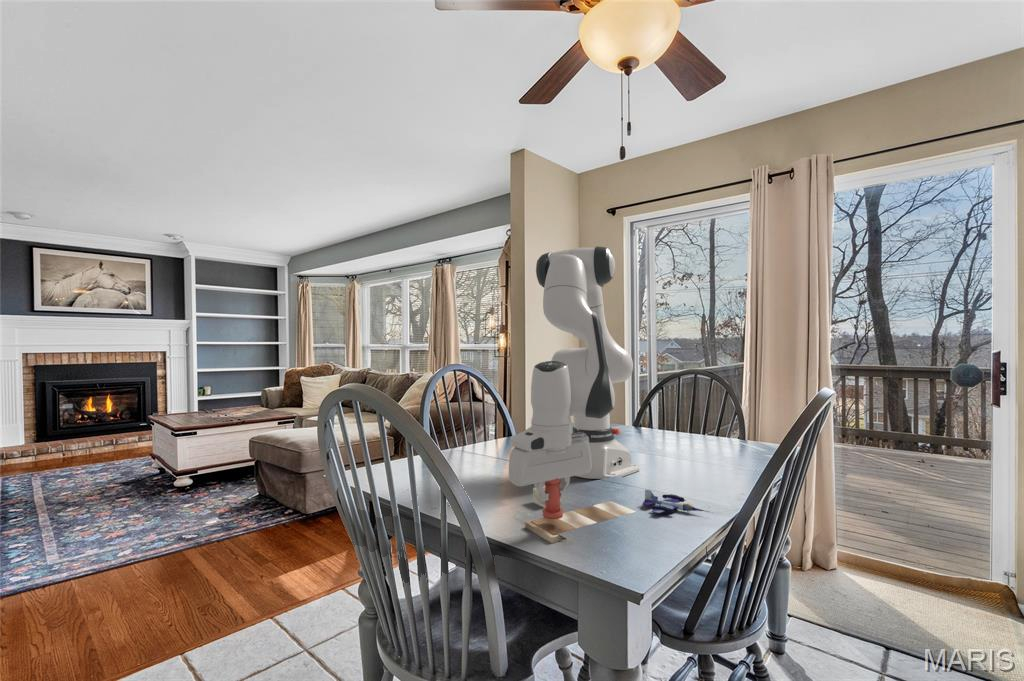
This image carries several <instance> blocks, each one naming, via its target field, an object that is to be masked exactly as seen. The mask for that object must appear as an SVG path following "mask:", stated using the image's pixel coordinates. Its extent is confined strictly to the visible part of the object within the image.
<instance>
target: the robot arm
mask: <svg viewBox="0 0 1024 681" xmlns="http://www.w3.org/2000/svg"><path fill="white" fill-rule="evenodd" d="M615 270H616V261H615V258H614V255H613V253H612V251H611V250H610V249H609V247H605V246H599V245H598V246H595V247H590V246H589V247H573V248H570V249H563V250H558V251H555V252H552V251H548V252H546V253H544V254H541V256H539V258H538V259H537V260H536V267H535V275H536V278H537V282H538V284H539V285H540V286H541V287H542V288H543V298H542V309H543V310H542V311H543V314H544V316H545V319H546V320H547V322H549V323H550V324H551V326H554V327H555V328H557V329H559V330H561V331H563V332H565V333H569V334H572V335H573V337H575V338H577V339H579V340H582V341H583V342H584V343H585V345H586V346H587V347H569V348H562V349H559V350H556V352H554V354H553V356H552V357H551V360H550V361H549V360H547V361H543V362H539V363H537V364H535V365H534V366H533V369H532V374H531V385H530V405H531V409H532V417H531V420H530V426H529V427H528V428H526V429H525V430H523V431H521V432H519V433H516V435H513V436H512V437H511V439H510V441H511V442H510V444H511V446H512V447H514V448H513V449H511V451H510V453H509V459H508V479H509V481H510V482H511V484H513V485H515V486H517V487H519V488H520V487H525V486H531V485H533V486H534V488H536V490H537V491H538V493H539V501H541V502H546V501H549V498H548V497H549V493H546V492H545V491H544V489H543V487H544V486H545V482H546V481H551V480H554V479H556V478H559V479H560V498H561V499H563V498H566V495H567V494H566V490H567V488H568V487H569V484H570V482H571V477H578V478H583V479H594V480H595V479H596V480H597V479H599V480H603V479H607V478H608V479H609V478H613V477H616V476H617V477H621V478H623V477H625V476H628V475H631V474H633V473H636V472H639V471H640V467H639V465H636V464H634V463H632V456H631V452H630V451H629V449H628V448H626V446H624V445H622V444H621V443H620V442H619V441H618V440H616V439H615V436H614V435H617V436H620V434H621V433H622V432H621V429H620V428H618V427H617V428H616V427H613V428H612V427H611V425H610V424H611V423H610V422H611V421H610V420H611V419H610V418H611V417H610V413H611V412H612V411H613V410H614V407H615V403H616V394H615V389H614V384H618V383H622V382H627V380H628V379H630V376H632V374H633V371H634V362H633V359H632V358H633V357H632V356H631V354H630V353H629V352H628V351H627V350H626V349H625V348H623V347H622V346H621V345H619V344H618V343H617V342H616V341H615V340H614V338H613V337H612V335H611V334H610V332H609V329H608V326H607V321H606V315H605V308H604V307H605V306H604V298H603V291H602V288H603V287H604V286H605V285H607V284H608V283H610V282H611V280H613V278H614V274H615ZM571 416H572V417H573V421H572V418H571ZM572 422H573V424H572ZM572 425H573V427H572Z"/></svg>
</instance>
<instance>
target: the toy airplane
mask: <svg viewBox="0 0 1024 681" xmlns="http://www.w3.org/2000/svg"><path fill="white" fill-rule="evenodd" d="M662 498H663V499H662V500H658V499H659V497H658V496H656V495H654V493H653V492H652V491H651V490H649V489H645V490H644V501H643V502H642V503H641V504H642V506H643V505H644V506H651V507H650V508H651V510H652V511H651V513H652V514H657V515H658V514H666V515H667V514H669V515H674V514H675V513H677V512H679V510H680V511H683V512H684V511H685V512H687V513H689V512H693V511H696V512H700V511H701V512H707V513H710V511H709V510H708V511H707V510H703V509H701V508H697V507H695V506H694V505H693V504H691V503H688V502H685V501H687V500H686V499H685V498H684V497H682V496H678V495H677V494H662ZM684 502H685V503H684ZM654 504H656V505H654ZM713 512H714V511H711V513H713ZM713 514H714V513H713Z"/></svg>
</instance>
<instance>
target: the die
mask: <svg viewBox="0 0 1024 681" xmlns="http://www.w3.org/2000/svg"><path fill="white" fill-rule="evenodd" d="M543 489H544V491H545V486H544V487H543ZM532 503H533V504H535V505H537V506H539V507H541V508H543V509H544V508H545V502H541V501H539V493H538V491H537V490H536V488H535V487H532ZM560 505H562V498H560Z"/></svg>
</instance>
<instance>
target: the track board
mask: <svg viewBox="0 0 1024 681" xmlns="http://www.w3.org/2000/svg"><path fill="white" fill-rule="evenodd" d="M634 513H637V511H636V510H633V509H631V508H630V507H629V508H628V507H626V506H623V505H621V504H619V503H616V502H614V501H612V500H610V501H606V502H602V503H598V504H594V505H589V506H586V507H582V508H577V509H574V510H569V511H565V512H563V517H562V518H560V519H547V518H544V517H542V518H537V519H532V520H528V521H525V522H524V526H525V527H526V528H525V529H527V530H528V531H530V532H532V533H533V534H535V535H537V536H539V537H541V538H542V539H544V540H545V541H547V542H549V543H550V544H555V543H558V542H561V541H565V540H567V538H566V537H564V536H562V535H560V534H562V533H565V532H568V531H572V530H575V529H579V528H583V527H587V526H590V525H594V524H597V523H602V522H604V521H608V520H612V519H615V518H619V517H623V516H627V515H630V514H634Z"/></svg>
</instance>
